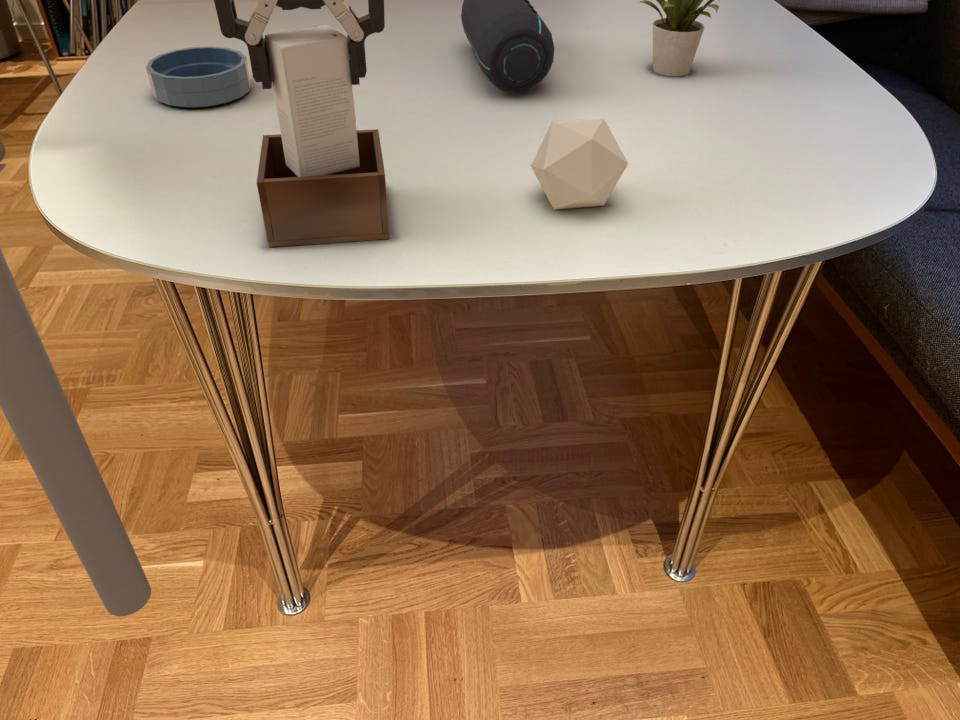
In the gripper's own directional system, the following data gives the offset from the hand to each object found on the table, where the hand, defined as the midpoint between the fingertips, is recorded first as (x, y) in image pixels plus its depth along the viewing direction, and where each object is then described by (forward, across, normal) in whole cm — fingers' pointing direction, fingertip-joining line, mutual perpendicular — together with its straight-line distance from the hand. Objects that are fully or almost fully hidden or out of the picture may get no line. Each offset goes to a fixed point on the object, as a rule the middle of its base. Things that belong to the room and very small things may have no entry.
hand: (311, 83), depth 67 cm
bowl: (+13, +16, -36) cm, 41 cm away
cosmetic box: (+8, 0, 0) cm, 8 cm away
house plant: (+13, -50, -36) cm, 63 cm away
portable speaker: (+13, -25, -40) cm, 49 cm away
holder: (+13, 0, 0) cm, 13 cm away
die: (+13, -25, 0) cm, 28 cm away
